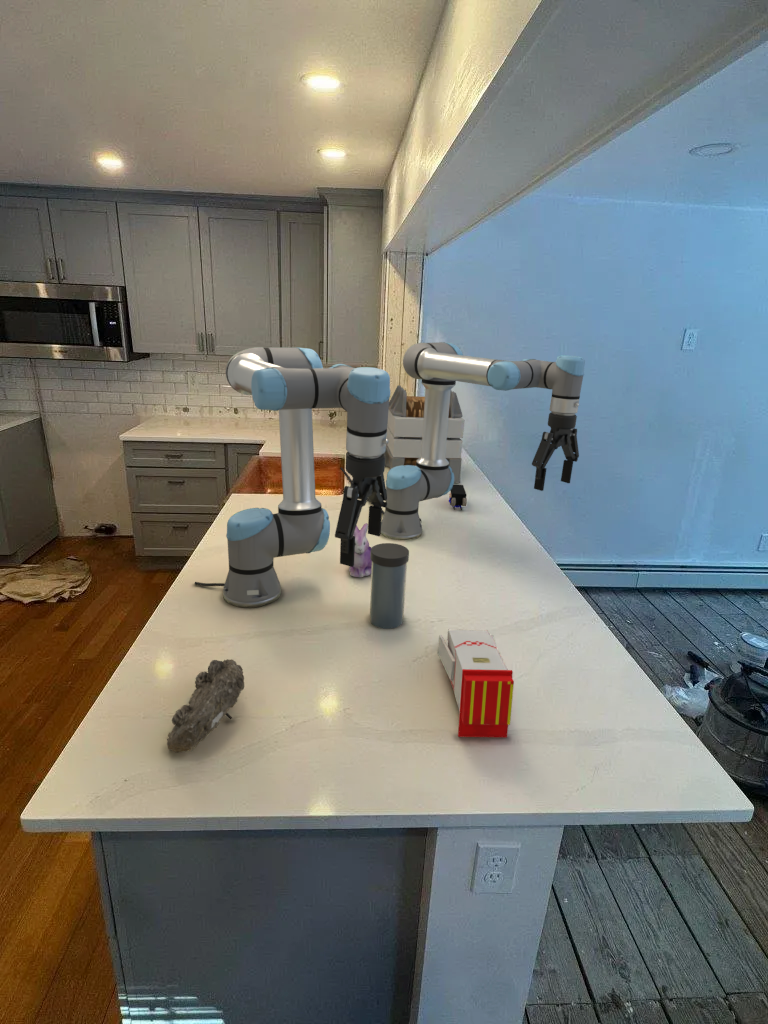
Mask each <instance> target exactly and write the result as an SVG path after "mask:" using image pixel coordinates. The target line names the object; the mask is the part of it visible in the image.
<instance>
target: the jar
mask: <svg viewBox="0 0 768 1024" xmlns="http://www.w3.org/2000/svg"><path fill="white" fill-rule="evenodd" d="M407 564H408V562H407V563H406V564H404V565H402V566H398V567H385V566H380V565H377V564H375V563H373V562H372V567H371V574H370V592H369V593H370V594H369V595H370V596H369V623H370V624H371V625H372V626H374V627H376V628H379V629H384V630H392V629H396V628H398V627H400V626H402V625H403V624H404V618H405V617H404V616H405V615H404V614H405V600H406V585H407V583H406V582H407V566H408V565H407Z"/></svg>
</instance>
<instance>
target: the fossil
mask: <svg viewBox="0 0 768 1024" xmlns="http://www.w3.org/2000/svg"><path fill="white" fill-rule="evenodd" d="M243 670H244V669H243V667H242V665H240V664H237V662H236V661H235V660H234V659H232V658H231V659H227V658H226V659H224V660H223V661H222V660H217V659H212V660H211V661H210V663H209V665H208V666H207V671H201V672H199V673H198V674H197V675H196V676H195V680H194V684H195V685H194V687H195V689H194V690H193V693H192V694H191V697H190V698H189V700H188V704H184V705H182V706H181V707H180V709H177V710H176V711H175V713H174V715H173V716H172V718H171V723H172V724H173V727H172V730H171V731H170V732H168V734H167V738H166V741H167V742H166V745H167V749H168V750H169V751H173V752H174V753H176V754H178V753H182V752H188V751H189V752H192V751H193V750H195V748H196V747H197V746H199V744H200V743H201V742H203V741H204V740H205V739H206V738H207V737H208V736H209V735H210V734H211V733H212V732H214V730H215V729H217V727H218V726H219V724H220V722H221V721H222V720H223V719H224V718H225V716H226V717H227V719H229V720H233V717H232V715H230V714H229V710H230V709H231V708H234V706H235V704H236V703H237V702H238V699H239V697H240V695H241V693H242V691H243V690H245V689H244V688H245V675H244V671H243Z"/></svg>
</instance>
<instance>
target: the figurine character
mask: <svg viewBox="0 0 768 1024" xmlns="http://www.w3.org/2000/svg"><path fill="white" fill-rule="evenodd" d="M448 502H449V505H450V507H452V509H453V511H456V509H460V511H463V507H464V508H465V507H467V503H468V498H467V492H466V489H465V487H464V484H457V483H454V484H453V487H452V489H451V490H450V491H449V494H448Z"/></svg>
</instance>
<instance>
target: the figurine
mask: <svg viewBox="0 0 768 1024" xmlns="http://www.w3.org/2000/svg"><path fill="white" fill-rule="evenodd" d="M367 534H368V523H367V522H366V523H364V524H363V525H362V527H361V528H360V529H359V526H358V524H357V525H356V528H355V531H354V534H353V536H355V554H354V566H353V567H351V566H348V572H349V575H350V576H351V577H355V578H363V577H368V576H371V567H372V561H371V559H370V555H371V548H372V547H371V546H370V542H369V540H368V537H367Z"/></svg>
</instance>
